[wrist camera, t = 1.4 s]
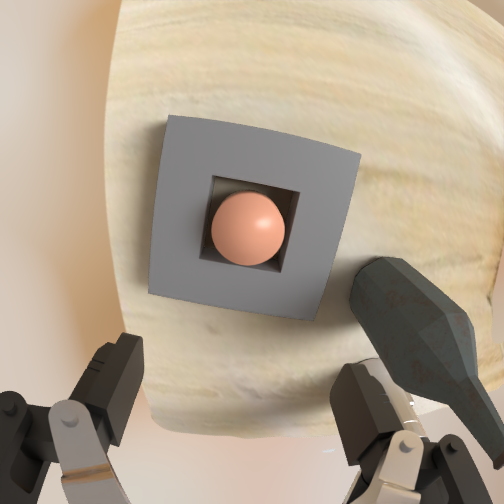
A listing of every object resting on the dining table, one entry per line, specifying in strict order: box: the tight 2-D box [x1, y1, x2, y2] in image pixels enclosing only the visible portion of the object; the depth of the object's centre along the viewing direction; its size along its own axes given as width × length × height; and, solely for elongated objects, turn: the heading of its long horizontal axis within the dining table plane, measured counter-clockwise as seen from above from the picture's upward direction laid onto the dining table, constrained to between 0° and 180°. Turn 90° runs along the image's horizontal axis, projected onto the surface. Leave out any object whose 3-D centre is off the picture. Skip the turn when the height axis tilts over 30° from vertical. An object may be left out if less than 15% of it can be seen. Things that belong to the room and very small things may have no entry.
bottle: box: [349, 257, 504, 470], centre depth 22 cm, size 10×10×30 cm
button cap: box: [211, 190, 285, 265], centre depth 29 cm, size 7×7×4 cm
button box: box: [148, 115, 361, 321], centre depth 31 cm, size 20×20×4 cm
